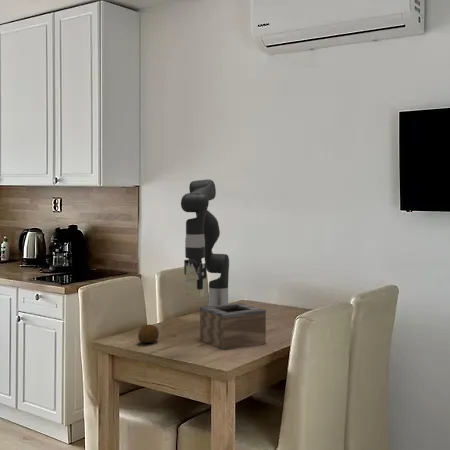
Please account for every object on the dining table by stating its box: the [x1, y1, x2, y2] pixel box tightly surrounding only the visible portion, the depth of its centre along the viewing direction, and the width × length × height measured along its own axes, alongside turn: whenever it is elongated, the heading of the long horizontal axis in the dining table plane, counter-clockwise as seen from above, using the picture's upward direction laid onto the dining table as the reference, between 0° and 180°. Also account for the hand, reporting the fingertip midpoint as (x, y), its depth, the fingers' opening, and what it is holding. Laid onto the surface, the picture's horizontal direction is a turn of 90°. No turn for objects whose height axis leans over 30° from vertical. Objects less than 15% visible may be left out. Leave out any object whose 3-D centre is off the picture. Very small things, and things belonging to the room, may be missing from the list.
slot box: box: [199, 302, 267, 351], centre depth 262 cm, size 20×20×14 cm
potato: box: [137, 324, 160, 344], centre depth 260 cm, size 8×12×8 cm, turn 170°
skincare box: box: [185, 265, 205, 299], centre depth 243 cm, size 6×4×12 cm
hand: (195, 287), depth 243 cm, fingers closed on skincare box, 7 cm apart
